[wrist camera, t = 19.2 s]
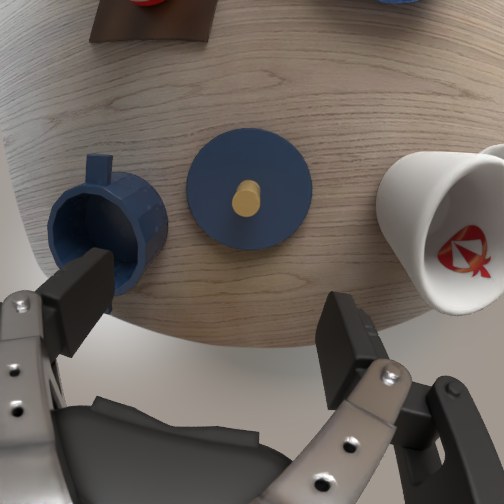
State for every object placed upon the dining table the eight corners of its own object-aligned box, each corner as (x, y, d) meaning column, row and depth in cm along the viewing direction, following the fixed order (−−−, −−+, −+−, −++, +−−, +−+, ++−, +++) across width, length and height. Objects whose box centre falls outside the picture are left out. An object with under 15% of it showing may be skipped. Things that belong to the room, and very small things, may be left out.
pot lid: (182, 235, 34) (167, 257, 28) (198, 119, 29) (183, 118, 23) (295, 255, 34) (301, 282, 29) (322, 142, 29) (335, 145, 24)
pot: (84, 274, 37) (56, 303, 30) (84, 145, 30) (46, 153, 23) (163, 293, 37) (145, 328, 30) (176, 153, 30) (152, 162, 24)
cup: (448, 95, 26) (529, 93, 13) (495, 186, 30) (567, 220, 17) (335, 191, 31) (381, 235, 19) (398, 275, 35) (449, 344, 22)
